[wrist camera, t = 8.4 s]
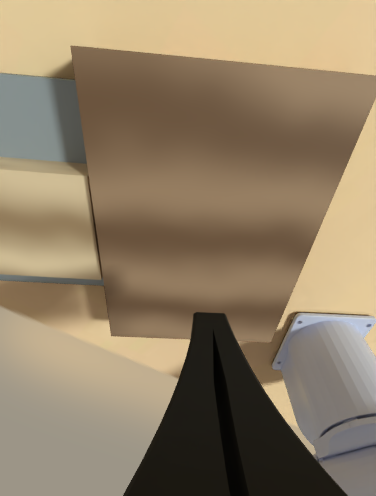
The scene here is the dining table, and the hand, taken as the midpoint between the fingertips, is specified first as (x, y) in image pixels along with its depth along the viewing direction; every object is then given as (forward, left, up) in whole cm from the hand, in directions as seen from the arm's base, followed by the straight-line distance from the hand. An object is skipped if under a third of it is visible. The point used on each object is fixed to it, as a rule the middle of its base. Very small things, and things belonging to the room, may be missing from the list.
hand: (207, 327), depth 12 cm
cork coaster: (0, +11, -9) cm, 14 cm away
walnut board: (0, 0, -10) cm, 10 cm away
